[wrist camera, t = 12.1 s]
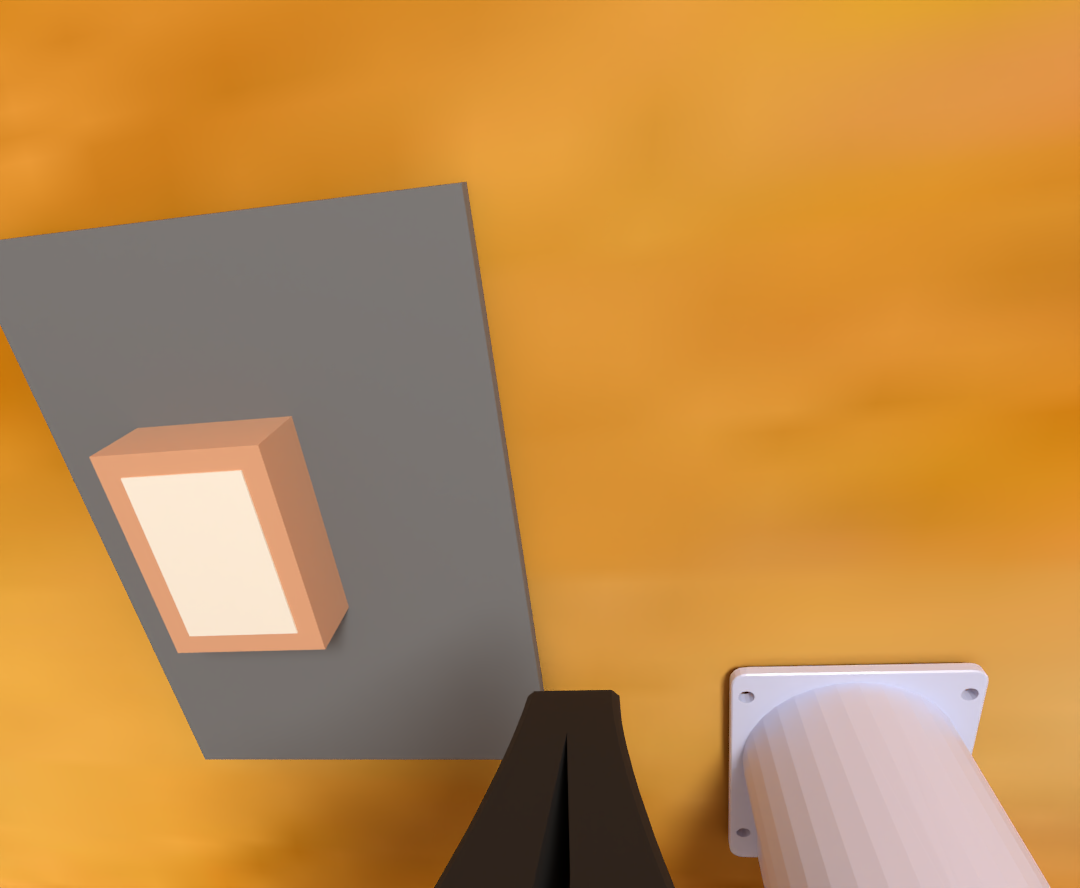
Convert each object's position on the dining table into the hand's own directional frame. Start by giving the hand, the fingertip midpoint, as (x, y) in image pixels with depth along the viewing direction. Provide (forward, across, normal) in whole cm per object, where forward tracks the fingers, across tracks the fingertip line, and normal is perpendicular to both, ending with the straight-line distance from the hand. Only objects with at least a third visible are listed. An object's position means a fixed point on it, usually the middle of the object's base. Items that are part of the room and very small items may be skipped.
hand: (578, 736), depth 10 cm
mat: (+10, +10, +2) cm, 14 cm away
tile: (+8, +9, +1) cm, 12 cm away
